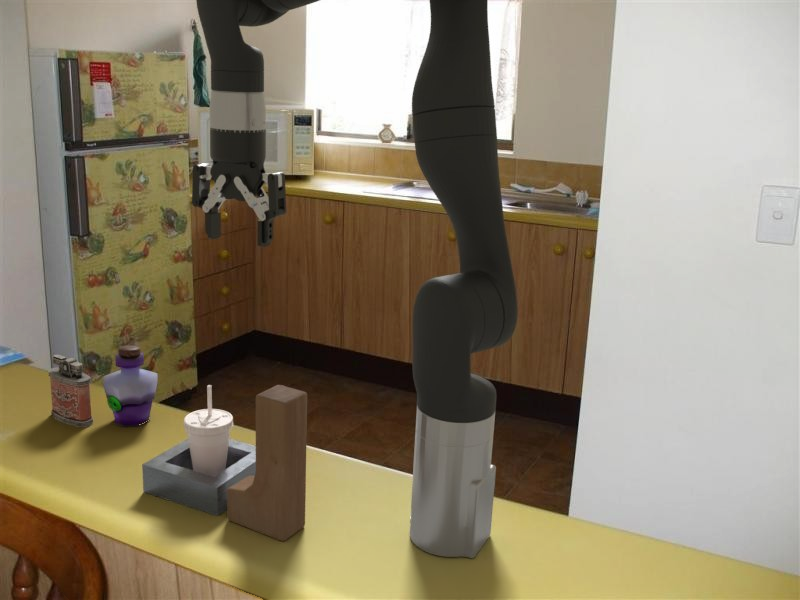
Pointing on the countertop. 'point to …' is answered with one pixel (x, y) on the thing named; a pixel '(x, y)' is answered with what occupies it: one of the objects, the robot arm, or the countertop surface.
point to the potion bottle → (130, 388)
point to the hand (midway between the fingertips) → (238, 242)
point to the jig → (197, 477)
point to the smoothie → (209, 438)
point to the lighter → (70, 392)
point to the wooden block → (275, 467)
